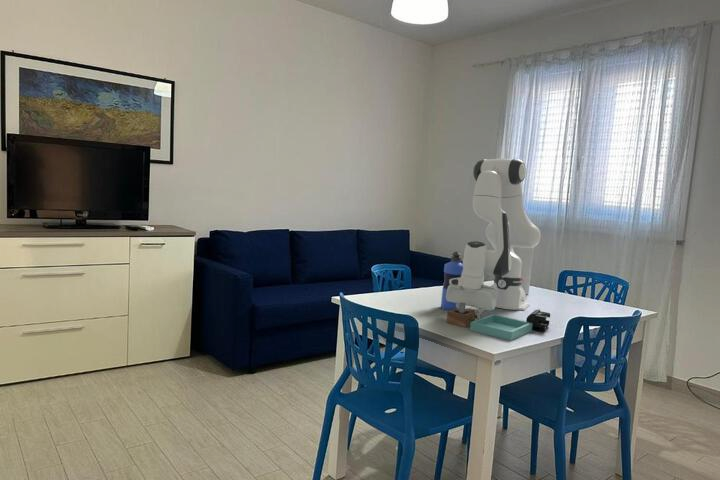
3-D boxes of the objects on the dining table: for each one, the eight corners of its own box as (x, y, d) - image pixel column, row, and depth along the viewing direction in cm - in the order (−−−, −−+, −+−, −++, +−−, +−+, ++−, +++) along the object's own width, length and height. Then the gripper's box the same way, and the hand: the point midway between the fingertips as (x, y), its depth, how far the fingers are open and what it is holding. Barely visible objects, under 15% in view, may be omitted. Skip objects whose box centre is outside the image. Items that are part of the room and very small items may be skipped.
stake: (459, 322, 205) (461, 302, 204) (464, 323, 203) (466, 303, 203) (456, 323, 203) (458, 303, 202) (461, 324, 202) (463, 304, 201)
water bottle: (436, 307, 228) (441, 250, 225) (448, 304, 235) (453, 249, 232) (454, 312, 222) (460, 253, 219) (466, 309, 228) (471, 252, 226)
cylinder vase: (505, 293, 273) (510, 246, 270) (503, 289, 285) (507, 243, 282) (530, 296, 271) (535, 248, 268) (526, 291, 283) (531, 246, 280)
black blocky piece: (530, 324, 211) (532, 308, 210) (548, 328, 207) (550, 311, 207) (525, 329, 202) (527, 312, 201) (544, 333, 199) (546, 315, 198)
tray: (492, 321, 210) (493, 314, 210) (531, 330, 200) (532, 323, 200) (469, 330, 194) (470, 321, 194) (511, 340, 184) (511, 332, 184)
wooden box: (462, 317, 213) (463, 306, 212) (480, 322, 208) (481, 310, 207) (446, 322, 203) (447, 311, 202) (465, 327, 198) (466, 315, 197)
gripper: (500, 286, 203) (496, 321, 204) (453, 277, 215) (450, 310, 217) (493, 288, 198) (489, 323, 199) (445, 279, 210) (442, 312, 212)
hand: (468, 316), depth 208 cm, fingers open, 6 cm apart
